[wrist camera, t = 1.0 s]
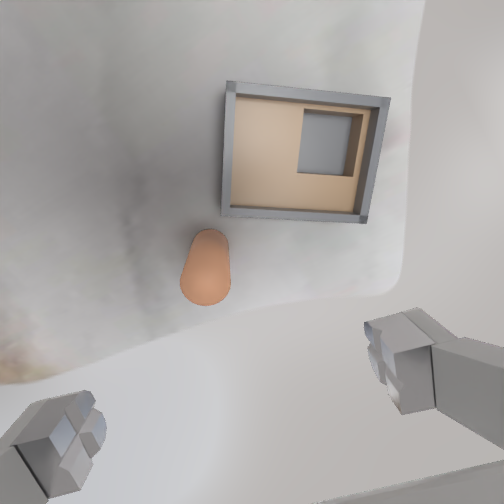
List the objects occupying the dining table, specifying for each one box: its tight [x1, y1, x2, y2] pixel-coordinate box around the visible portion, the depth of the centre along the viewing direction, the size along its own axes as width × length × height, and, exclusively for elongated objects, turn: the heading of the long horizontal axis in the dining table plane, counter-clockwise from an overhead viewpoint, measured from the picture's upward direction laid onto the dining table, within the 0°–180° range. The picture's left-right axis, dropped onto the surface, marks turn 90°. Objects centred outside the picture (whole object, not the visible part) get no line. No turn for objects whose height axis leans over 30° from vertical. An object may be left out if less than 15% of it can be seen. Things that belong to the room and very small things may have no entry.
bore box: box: [221, 81, 391, 224], centre depth 29 cm, size 14×11×5 cm
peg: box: [180, 229, 231, 306], centre depth 28 cm, size 4×4×10 cm
